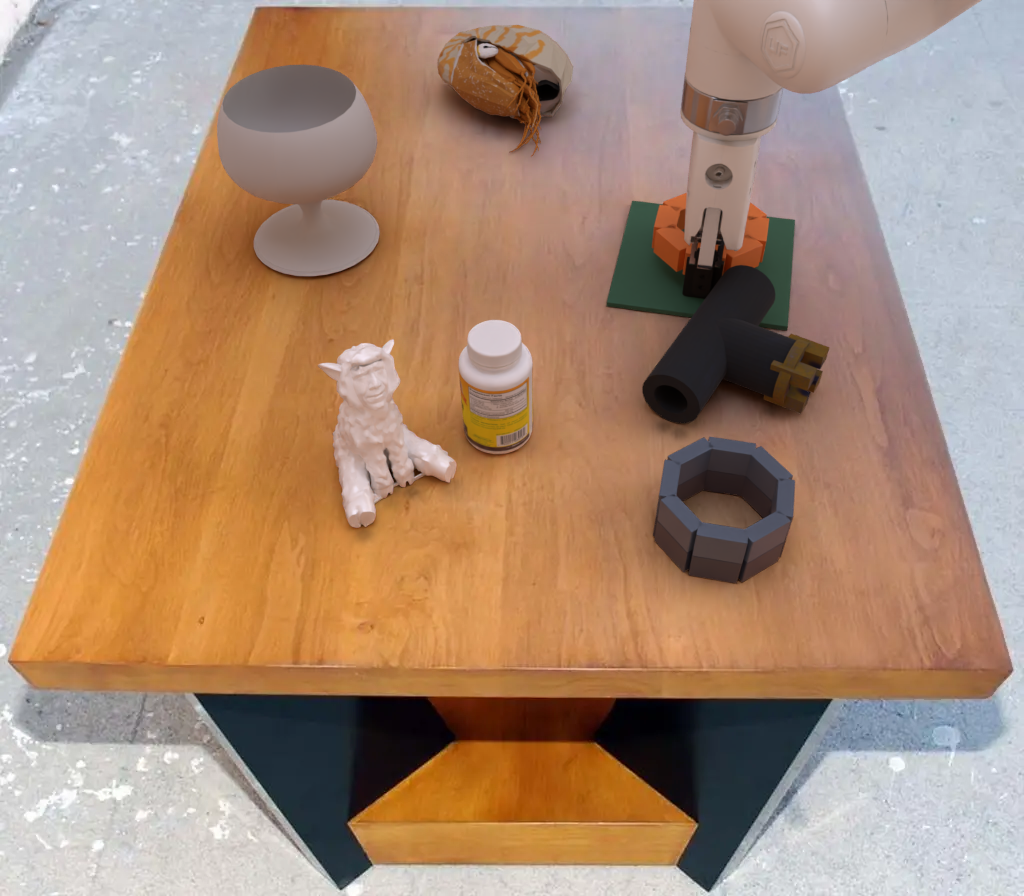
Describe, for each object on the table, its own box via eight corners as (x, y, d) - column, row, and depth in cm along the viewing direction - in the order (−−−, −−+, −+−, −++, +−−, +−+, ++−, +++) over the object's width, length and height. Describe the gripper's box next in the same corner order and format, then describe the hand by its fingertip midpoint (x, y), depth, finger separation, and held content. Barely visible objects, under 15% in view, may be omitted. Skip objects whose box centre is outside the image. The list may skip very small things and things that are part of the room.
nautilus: (587, 168, 106) (445, 182, 106) (566, 57, 119) (440, 69, 119) (587, 102, 100) (436, 116, 100) (564, -7, 113) (432, 5, 113)
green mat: (794, 223, 98) (795, 219, 98) (786, 330, 88) (788, 326, 88) (631, 204, 101) (632, 200, 101) (606, 306, 91) (606, 302, 90)
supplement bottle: (481, 399, 83) (476, 303, 75) (543, 418, 81) (544, 323, 74) (451, 445, 80) (443, 350, 72) (515, 466, 78) (513, 371, 70)
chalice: (369, 292, 92) (347, 147, 81) (224, 279, 94) (182, 134, 83) (403, 203, 102) (387, 62, 90) (271, 193, 103) (239, 53, 92)
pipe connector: (855, 300, 82) (784, 419, 74) (841, 347, 86) (772, 465, 78) (724, 256, 86) (644, 364, 78) (717, 303, 90) (640, 410, 82)
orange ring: (767, 219, 95) (771, 198, 93) (759, 285, 89) (763, 263, 87) (662, 206, 97) (664, 184, 95) (646, 269, 90) (648, 248, 89)
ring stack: (784, 491, 76) (796, 449, 73) (778, 591, 70) (791, 550, 67) (663, 472, 78) (669, 429, 74) (647, 568, 72) (653, 527, 68)
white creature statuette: (355, 537, 74) (330, 425, 65) (299, 465, 79) (269, 352, 70) (461, 477, 77) (452, 364, 69) (402, 413, 82) (386, 299, 73)
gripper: (775, 160, 72) (736, 350, 86) (785, 53, 82) (749, 238, 96) (670, 148, 73) (648, 338, 87) (693, 45, 84) (670, 229, 97)
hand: (701, 284), depth 91 cm, fingers closed on orange ring, 2 cm apart
